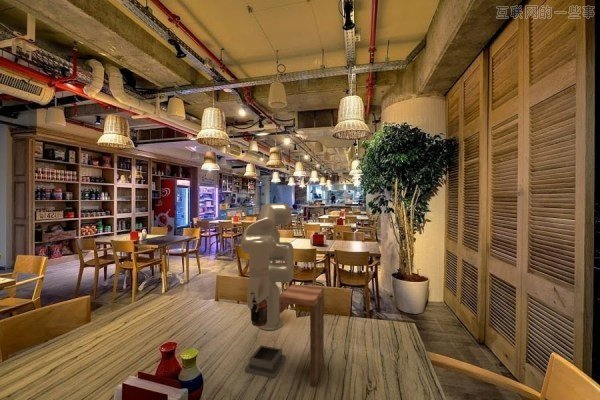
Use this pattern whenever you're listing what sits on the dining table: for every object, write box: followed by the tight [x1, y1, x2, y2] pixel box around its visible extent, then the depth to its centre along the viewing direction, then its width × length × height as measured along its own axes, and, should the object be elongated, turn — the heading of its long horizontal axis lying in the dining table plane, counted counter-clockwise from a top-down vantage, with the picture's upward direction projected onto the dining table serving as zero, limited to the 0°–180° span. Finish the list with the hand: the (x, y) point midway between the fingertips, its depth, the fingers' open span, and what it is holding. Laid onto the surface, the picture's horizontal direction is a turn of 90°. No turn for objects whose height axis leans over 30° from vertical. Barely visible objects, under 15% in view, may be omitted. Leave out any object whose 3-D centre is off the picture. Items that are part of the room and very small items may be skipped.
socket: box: [244, 345, 287, 379], centre depth 105 cm, size 12×12×4 cm
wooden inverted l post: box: [279, 283, 325, 388], centre depth 102 cm, size 14×13×30 cm
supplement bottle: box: [251, 299, 267, 328], centre depth 105 cm, size 6×6×11 cm
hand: (259, 316), depth 105 cm, fingers closed on supplement bottle, 6 cm apart
